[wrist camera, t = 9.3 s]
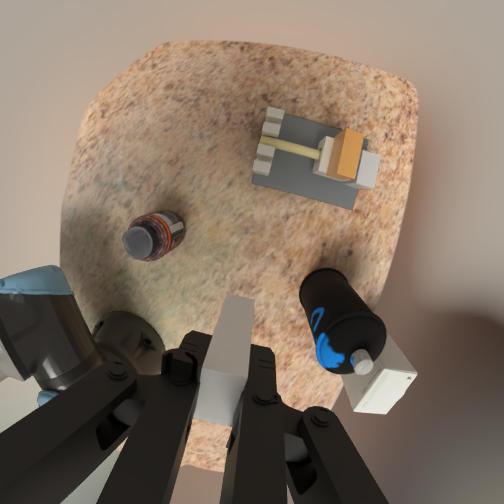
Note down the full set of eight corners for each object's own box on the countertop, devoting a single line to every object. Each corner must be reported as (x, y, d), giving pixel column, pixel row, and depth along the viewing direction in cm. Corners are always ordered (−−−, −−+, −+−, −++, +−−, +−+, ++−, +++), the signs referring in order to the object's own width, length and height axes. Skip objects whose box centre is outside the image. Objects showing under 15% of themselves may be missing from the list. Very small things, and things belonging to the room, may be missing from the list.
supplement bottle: (169, 255, 42) (139, 278, 31) (144, 229, 41) (107, 243, 30) (194, 229, 40) (169, 244, 29) (167, 201, 40) (134, 207, 29)
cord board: (252, 183, 39) (249, 181, 31) (269, 113, 36) (270, 95, 28) (349, 209, 39) (368, 214, 31) (365, 141, 36) (386, 132, 28)
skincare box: (350, 311, 42) (385, 365, 27) (381, 321, 43) (421, 371, 28) (329, 351, 44) (351, 412, 29) (359, 359, 45) (387, 416, 29)
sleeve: (311, 174, 34) (327, 170, 25) (319, 139, 33) (337, 124, 24) (339, 183, 34) (363, 182, 25) (347, 148, 33) (372, 137, 24)
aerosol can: (342, 260, 41) (399, 317, 21) (353, 306, 42) (403, 380, 23) (292, 277, 42) (314, 349, 22) (306, 322, 43) (330, 408, 24)
